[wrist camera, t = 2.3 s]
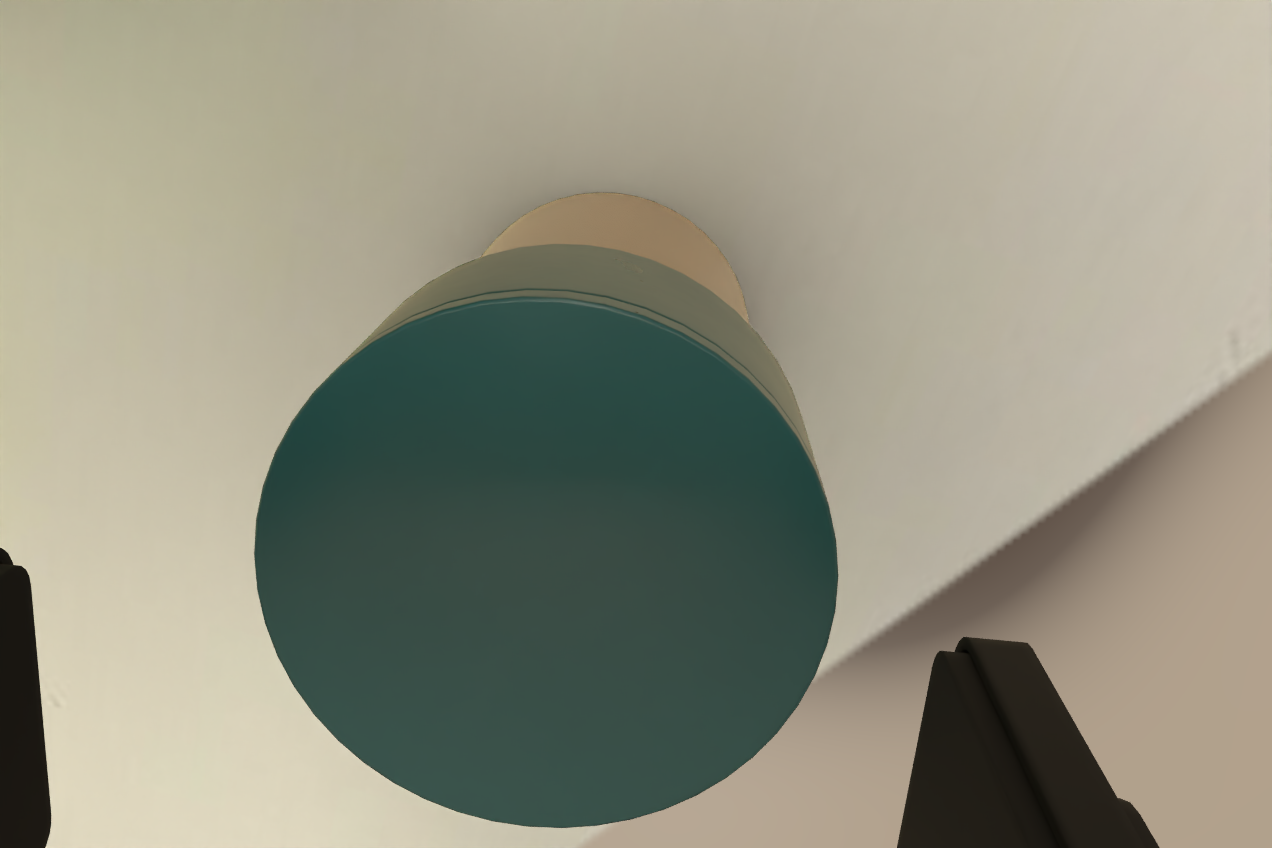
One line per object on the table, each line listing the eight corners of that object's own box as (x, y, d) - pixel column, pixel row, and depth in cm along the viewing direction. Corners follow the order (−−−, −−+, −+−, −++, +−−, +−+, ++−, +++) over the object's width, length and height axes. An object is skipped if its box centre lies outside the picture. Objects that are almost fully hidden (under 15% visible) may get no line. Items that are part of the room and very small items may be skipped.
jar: (765, 206, 24) (830, 350, 13) (731, 483, 26) (764, 798, 15) (468, 178, 24) (301, 299, 13) (455, 457, 26) (302, 752, 15)
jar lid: (847, 269, 16) (889, 329, 13) (782, 711, 18) (803, 855, 15) (333, 219, 16) (247, 268, 13) (329, 666, 18) (257, 801, 15)
